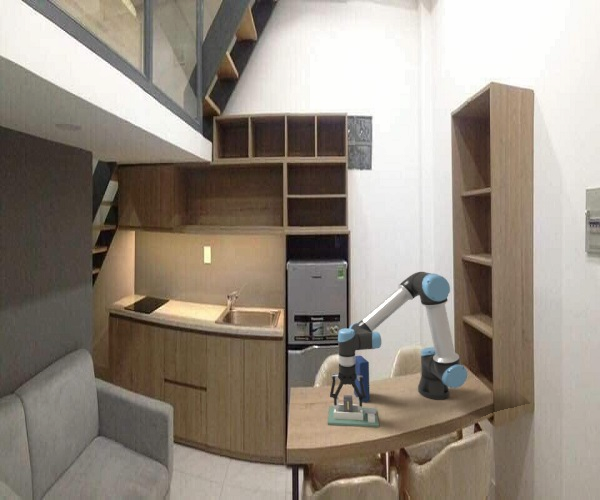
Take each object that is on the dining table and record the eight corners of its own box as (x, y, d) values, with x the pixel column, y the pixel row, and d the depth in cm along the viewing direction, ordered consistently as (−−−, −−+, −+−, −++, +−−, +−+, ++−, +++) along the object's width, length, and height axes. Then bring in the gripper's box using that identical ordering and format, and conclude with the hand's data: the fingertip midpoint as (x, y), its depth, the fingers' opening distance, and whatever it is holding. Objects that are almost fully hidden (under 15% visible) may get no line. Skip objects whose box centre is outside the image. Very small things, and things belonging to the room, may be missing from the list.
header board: (376, 410, 157) (375, 401, 157) (379, 427, 143) (378, 418, 143) (329, 408, 160) (329, 400, 160) (327, 424, 146) (327, 415, 146)
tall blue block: (370, 401, 165) (369, 361, 165) (360, 402, 164) (360, 362, 163) (362, 392, 175) (361, 355, 174) (353, 393, 173) (352, 356, 173)
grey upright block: (352, 412, 154) (352, 395, 153) (352, 419, 148) (352, 401, 147) (344, 411, 154) (343, 395, 154) (343, 419, 148) (343, 401, 148)
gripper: (370, 360, 153) (371, 409, 154) (323, 359, 156) (325, 407, 157) (371, 367, 145) (373, 417, 146) (322, 366, 148) (324, 415, 149)
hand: (348, 412), depth 151 cm, fingers open, 9 cm apart
